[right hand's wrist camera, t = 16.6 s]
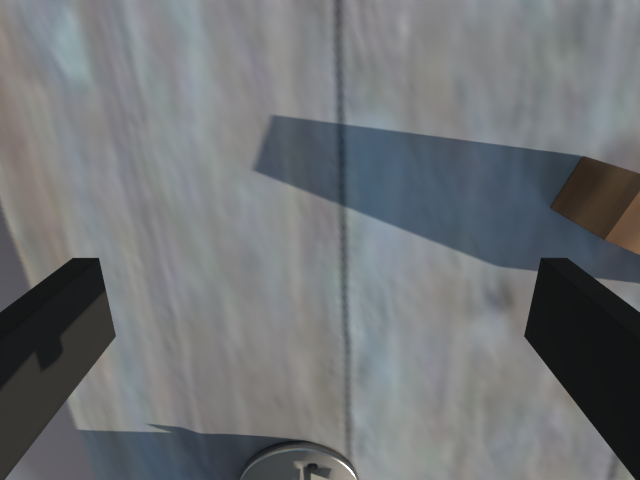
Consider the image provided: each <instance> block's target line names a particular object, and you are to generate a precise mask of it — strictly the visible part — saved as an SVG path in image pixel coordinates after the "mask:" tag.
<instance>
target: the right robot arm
mask: <svg viewBox="0 0 640 480" xmlns="http://www.w3.org/2000/svg"><path fill="white" fill-rule="evenodd" d="M115 337H116V335H115V330H114V326H113V321H112V316H111V312H110V307H109V303H108V298H107V293H106V289H105V284H104V280H103V275H102V270H101V266H100V261H99V258H72V259H71V260H70V261H68V262H67V263H66V264H64V265H63V266H62V267H60V268H59V269H58V270H56V271H55V272H54V273H52V274H51V275H50V276H48V277H47V278H46V279H44V280H43V281H42V282H40V283H39V284H38V285H36V286H35V287H34V288H32V289H31V290H30V291H28V292H27V293H26V294H24V295H23V296H22V297H20V298H19V299H18V300H16V301H15V302H14V303H12V304H11V305H10V306H8V307H7V308H6V309H4V310H3V311H2V312H0V480H5V478H6V477H7V476H8V474H9V473H10V472H11V471H12V469H13V468H14V467H15V465H16V464H17V463H18V462H19V460H20V459H21V458H22V456H23V455H24V454H25V453H26V451H27V450H28V449H29V447H30V446H31V445H32V444H33V442H34V441H35V440H36V438H37V437H38V436H39V435H40V433H41V432H42V431H43V429H44V428H45V427H46V426H47V424H48V423H49V422H50V420H51V419H52V418H53V417H54V415H55V414H56V413H57V411H58V410H59V409H60V408H61V406H62V405H63V404H64V402H65V401H66V400H67V398H68V397H69V396H70V395H71V393H72V392H73V391H74V389H75V388H76V387H77V386H78V384H79V383H80V382H81V380H82V379H83V378H84V377H85V375H86V374H87V373H88V371H89V370H90V369H91V368H92V366H93V365H94V364H95V362H96V361H97V360H98V359H99V357H100V356H101V355H102V353H103V352H104V351H105V349H106V348H107V347H108V346H109V344H110V343H111V342H112V340H113V339H114V338H115ZM524 337H525V338H526V339H527V340H528V342H529V343H530V344H531V346H532V347H533V348H534V350H535V351H536V352H537V353H538V355H539V356H540V357H541V359H542V360H543V361H544V362H545V364H546V365H547V366H548V368H549V369H550V370H551V371H552V373H553V374H554V375H555V377H556V378H557V379H558V380H559V382H560V383H561V384H562V386H563V387H564V388H565V389H566V391H567V392H568V393H569V395H570V396H571V397H572V398H573V400H574V401H575V402H576V404H577V405H578V406H579V408H580V409H581V410H582V411H583V413H584V414H585V415H586V417H587V418H588V419H589V420H590V422H591V423H592V424H593V426H594V427H595V428H596V429H597V431H598V432H599V433H600V435H601V436H602V437H603V438H604V440H605V441H606V442H607V444H608V445H609V446H610V447H611V449H612V450H613V451H614V453H615V454H616V455H617V456H618V458H619V459H620V460H621V462H622V463H623V464H624V466H625V467H626V468H627V469H628V471H629V472H630V473H631V475H632V476H633V477H634V478H635V480H640V312H638V311H637V310H636V309H634V308H633V307H632V306H630V305H629V304H628V303H626V302H625V301H624V300H622V299H621V298H620V297H618V296H617V295H616V294H614V293H613V292H612V291H610V290H609V289H608V288H606V287H605V286H604V285H602V284H601V283H600V282H598V281H597V280H596V279H594V278H593V277H592V276H590V275H589V274H588V273H586V272H585V271H584V270H582V269H581V268H580V267H578V266H577V265H576V264H574V263H573V262H572V261H570V260H569V259H568V258H541V261H540V266H539V270H538V275H537V280H536V284H535V289H534V293H533V298H532V303H531V307H530V312H529V316H528V321H527V326H526V330H525V335H524ZM240 480H359V479H358V476H357V473H356V471H355V469H354V467H353V466H352V464H351V463H350V462H349V461H348V460H347V459H346V458H345V457H344V456H342V455H341V454H340V453H338V452H336V451H334V450H333V449H330V448H328V447H325V446H322V445H319V444H315V443H309V442H288V443H282V444H277V445H274V446H271V447H269V448H266V449H264V450H262V451H261V452H259V453H257V454H256V455H255V456H253V457H252V458H251V459H250V460H249V461H248V462H247V464H246V465H245V467H244V468H243V470H242V473H241V476H240Z"/></svg>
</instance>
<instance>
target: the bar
mask: <svg viewBox="0 0 640 480" xmlns="http://www.w3.org/2000/svg"><path fill="white" fill-rule="evenodd" d="M550 208H551V209H552V210H554V211H556V212H557V213H559V214H561V215H563V216H564V217H566V218H568V219H569V220H571V221H573V222H574V223H576V224H578V225H580V226H581V227H583V228H585V229H586V230H588V231H590V232H592V233H593V234H595V235H597V236H598V237H600V238H602V239H603V240H605V241H608V242H610V243H613V244H615V245H617V246H620V247H622V248H624V249H627V250H629V251H632V252H634V253H636V254H639V255H640V174H639V173H636V172H633V171H630V170H627V169H623V168H620V167H617V166H614V165H611V164H607V163H604V162H601V161H598V160H595V159H592V158H588V157H585V156H583V157H582V159H581V160H580V162H579V163H578V165H577V167H576V168H575V170H574V171H573V173H572V174H571V176H570V177H569V179H568V181H567V182H566V184H565V185H564V187H563V188H562V190H561V192H560V193H559V195H558V196H557V198H556V199H555V201H554V202H553V204H552V206H551V207H550Z"/></svg>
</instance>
